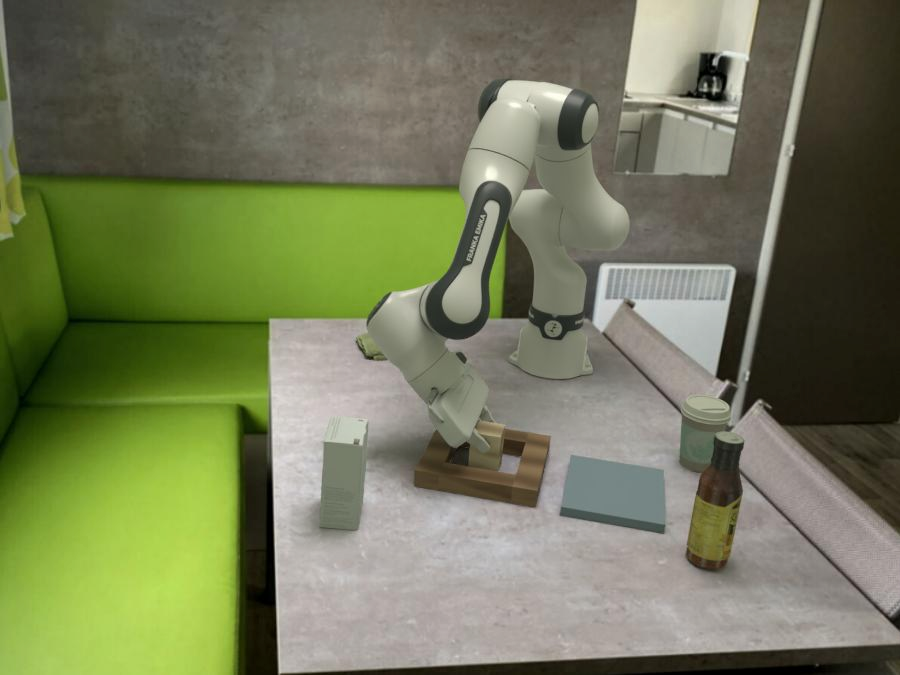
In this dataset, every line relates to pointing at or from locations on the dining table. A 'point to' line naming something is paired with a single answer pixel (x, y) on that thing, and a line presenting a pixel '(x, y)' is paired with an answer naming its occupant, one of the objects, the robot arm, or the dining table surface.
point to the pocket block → (482, 482)
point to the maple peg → (494, 454)
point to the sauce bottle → (717, 504)
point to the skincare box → (343, 473)
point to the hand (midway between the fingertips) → (491, 439)
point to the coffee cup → (701, 429)
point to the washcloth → (370, 347)
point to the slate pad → (615, 493)
